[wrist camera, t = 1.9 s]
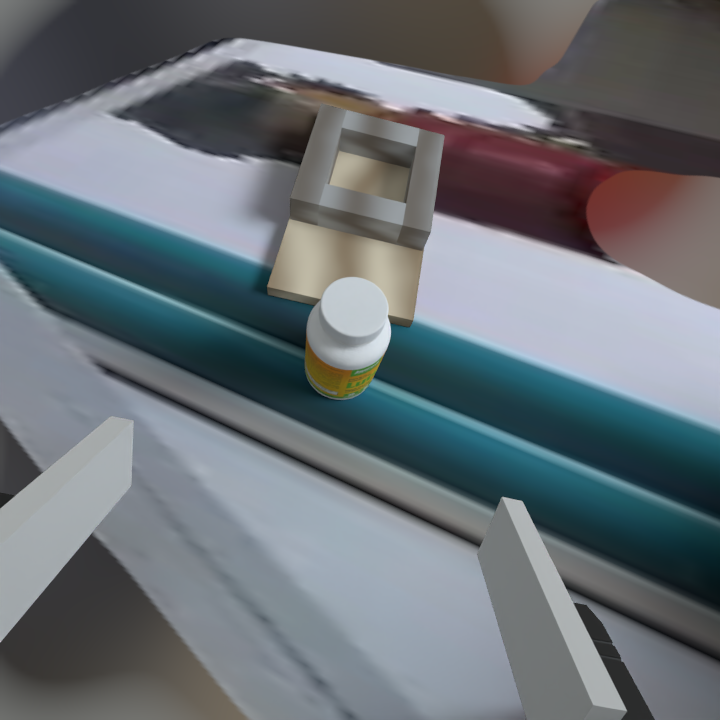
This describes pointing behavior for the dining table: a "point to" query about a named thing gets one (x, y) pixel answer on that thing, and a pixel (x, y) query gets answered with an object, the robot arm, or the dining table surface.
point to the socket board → (348, 251)
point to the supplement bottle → (346, 338)
